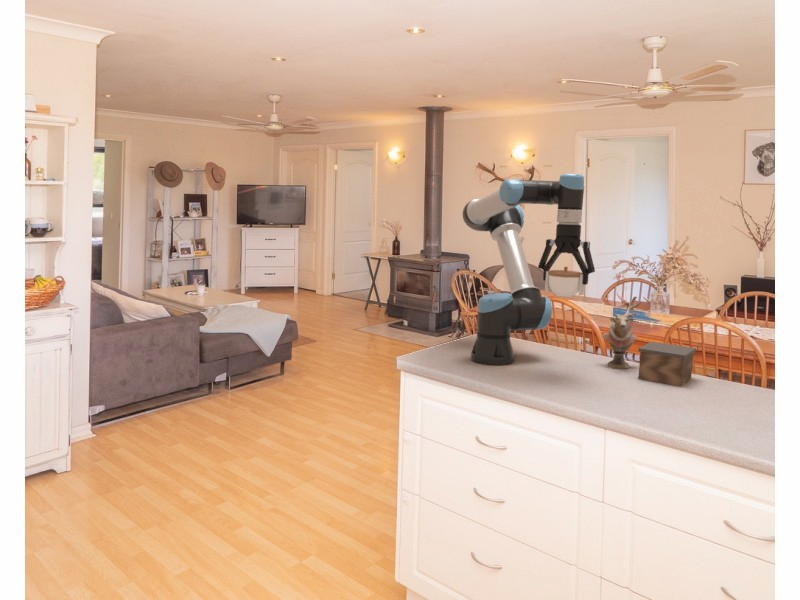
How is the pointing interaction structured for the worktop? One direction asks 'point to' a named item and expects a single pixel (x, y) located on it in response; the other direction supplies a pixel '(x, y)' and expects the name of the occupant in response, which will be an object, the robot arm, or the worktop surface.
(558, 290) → the lidded jar
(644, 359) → the block
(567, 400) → the worktop surface
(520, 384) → the worktop surface
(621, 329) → the decorative bust
